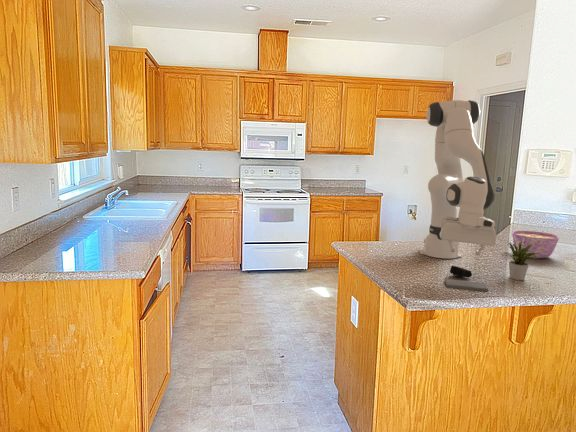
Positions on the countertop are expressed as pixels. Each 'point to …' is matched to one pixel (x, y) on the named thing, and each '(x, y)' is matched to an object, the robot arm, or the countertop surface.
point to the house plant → (519, 261)
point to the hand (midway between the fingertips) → (464, 253)
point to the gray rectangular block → (466, 285)
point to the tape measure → (460, 271)
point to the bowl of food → (536, 242)
